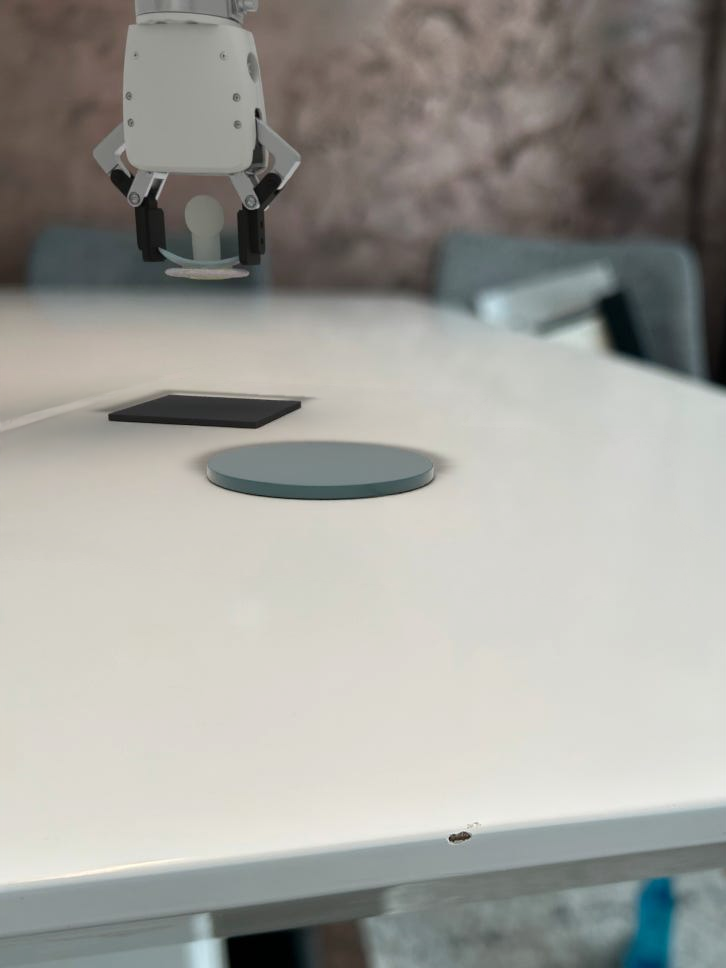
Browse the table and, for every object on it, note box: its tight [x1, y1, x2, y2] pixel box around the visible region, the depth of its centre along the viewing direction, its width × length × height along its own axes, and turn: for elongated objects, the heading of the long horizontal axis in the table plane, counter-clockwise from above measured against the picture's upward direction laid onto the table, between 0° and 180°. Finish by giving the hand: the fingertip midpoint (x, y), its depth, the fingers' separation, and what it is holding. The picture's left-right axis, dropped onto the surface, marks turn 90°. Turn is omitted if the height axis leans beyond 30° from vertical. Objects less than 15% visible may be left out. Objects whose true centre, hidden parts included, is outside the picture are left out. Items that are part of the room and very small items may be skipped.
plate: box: [206, 441, 435, 500], centre depth 69 cm, size 14×14×1 cm
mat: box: [107, 394, 302, 429], centre depth 91 cm, size 12×12×1 cm
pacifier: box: [158, 194, 250, 280], centre depth 86 cm, size 7×6×6 cm
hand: (202, 261), depth 87 cm, fingers closed on pacifier, 7 cm apart
